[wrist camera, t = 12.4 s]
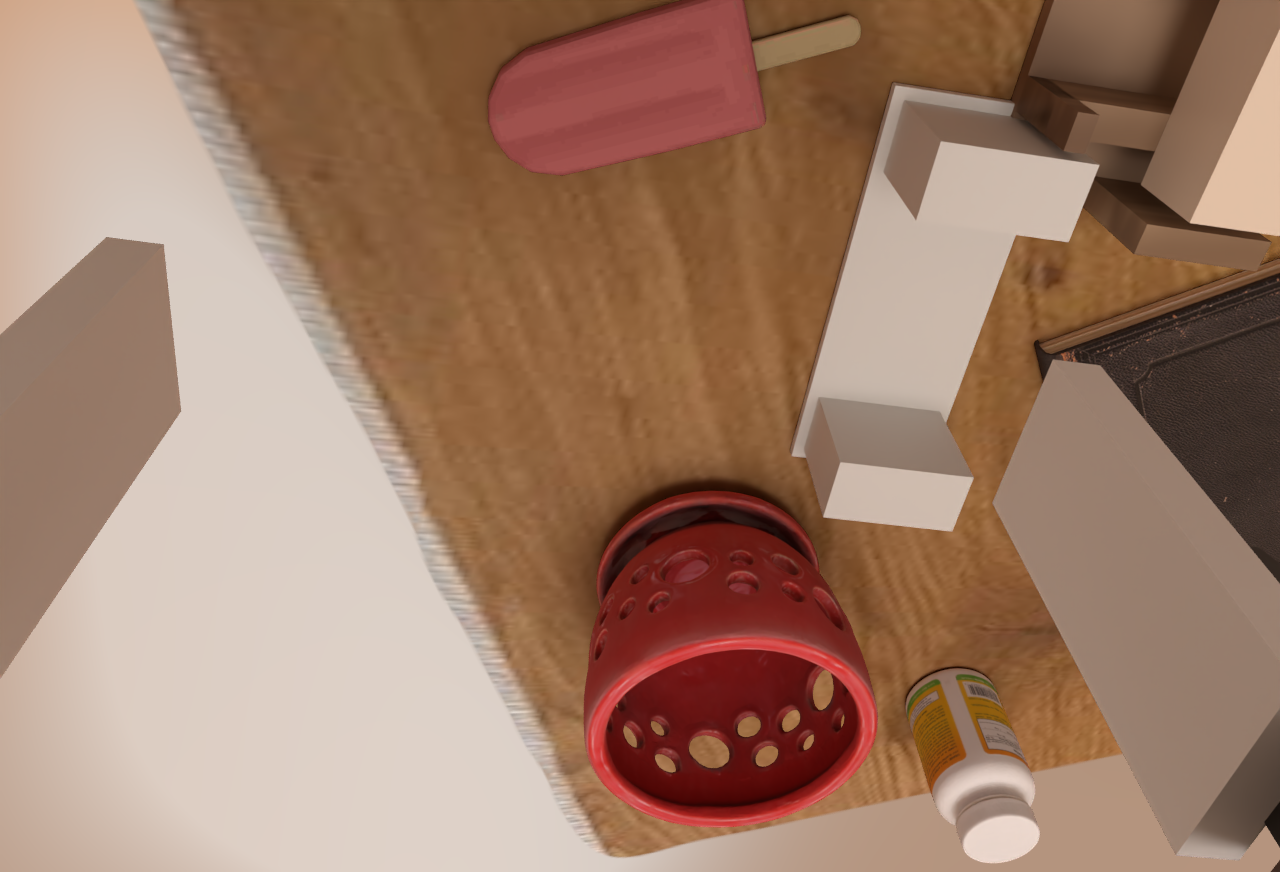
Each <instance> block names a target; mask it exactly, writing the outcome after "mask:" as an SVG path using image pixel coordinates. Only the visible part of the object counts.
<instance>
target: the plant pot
mask: <svg viewBox="0 0 1280 872" xmlns="http://www.w3.org/2000/svg"><path fill="white" fill-rule="evenodd" d="M596 587H597V596H598V600H599V604H600V607H601V608H600V610H599V613H598V616H597V619H596V622H595V625H594V628H593V632H592V636H591V642H590V650H589V666H588V673H587V679H586V686H585V694H584V737H585V746H586V751H587V755H588V758H589V761H590V763H591V766H592V768H593V770H594V772H595V773H596V775H597V776H598V778H599V779H600V780H601V782H602V783H603V784H604V785H605V786H606V787H607V788H608V789H609V790H610V791H611V792H612V793H613V794H614V795H615V796H617V797H618V798H619V799H621V800H622V801H624V802H625V803H627V804H628V805H630V806H631V807H633V808H635V809H637V810H639V811H641V812H643V813H645V814H648V815H650V816H653V817H655V818H658V819H661V820H664V821H668V822H672V823H677V824H683V825H689V826H699V827H736V826H745V825H751V824H757V823H762V822H767V821H771V820H775V819H778V818H781V817H784V816H787V815H790V814H792V813H795V812H797V811H799V810H802V809H804V808H806V807H808V806H810V805H812V804H814V803H816V802H818V801H820V800H822V799H823V798H825V797H827V796H828V795H830V794H831V793H833V792H834V791H835V790H837V789H838V788H839V787H840V786H842V785H843V784H844V783H845V782H846V781H847V780H848V779H849V778H850V777H851V776H852V775H853V774H854V773H855V772H856V771H857V770H858V769H859V767H860V766H861V764H862V763H863V762H864V760H865V759H866V757H867V755H868V753H869V752H870V750H871V748H872V746H873V744H874V740H875V736H876V733H877V725H878V712H877V705H876V701H875V697H874V693H873V689H872V685H871V681H870V678H869V674H868V670H867V667H866V664H865V662H864V659H863V656H862V653H861V650H860V648H859V645H858V643H857V641H856V638H855V636H854V633H853V630H852V628H851V625H850V623H849V621H848V619H847V617H846V615H845V613H844V612H843V610H842V609H841V607H840V605H839V603H838V601H837V599H836V597H835V596H834V594H833V592H832V590H831V589H830V587H829V585H828V584H827V583H826V581H825V580H824V579H823V578H822V576H821V575H820V574H819V564H818V559H817V555H816V552H815V549H814V547H813V544H812V542H811V540H810V539H809V537H808V535H807V534H806V532H805V531H804V529H803V528H802V527H801V526H800V525H799V524H798V523H797V522H796V521H795V520H794V519H793V518H792V517H791V516H790V515H788V514H787V513H786V512H784V511H783V510H781V509H780V508H778V507H776V506H775V505H773V504H771V503H769V502H766V501H764V500H762V499H760V498H757V497H754V496H749V495H745V494H741V493H735V492H728V491H699V492H691V493H686V494H681V495H677V496H673V497H670V498H667V499H665V500H662V501H660V502H658V503H656V504H654V505H652V506H650V507H648V508H647V509H645V510H643V511H642V512H640V513H639V514H638V515H636V516H635V517H634V518H632V519H631V520H630V521H629V522H627V523H626V524H625V525H624V526H623V527H622V528H621V529H620V530H619V531H618V533H617V534H616V535H615V536H614V537H613V539H612V540H611V541H610V543H609V545H608V546H607V548H606V550H605V552H604V553H603V556H602V558H601V561H600V564H599V568H598V572H597V584H596ZM823 670H827V671H829V672H830V673H831V675H832V678H833V685H834V691H833V696H832V699H831V702H830V703H829V705H828V706H827V707H826V708H825V709H823V710H818V709H817V707H816V706H815V704H814V700H813V688H814V684H815V682H816V679H817V678H818V676H819V674H820V673H821V672H822V671H823ZM617 703H618V708H617V707H616V705H617ZM792 710H798V711H799V713H800V722H799V724H798V725H797V726H796V727H795V728H794V729H793V730H791V731H789V732H784V730H783V728H782V721H783V718H784V717H785V716H786V714H787V713H789V712H790V711H792ZM843 714H844V717H845V719H844V724H843V726H842V728H841V719H842V716H843ZM750 716H754V717H756V718H758V719H759V720H760V722H761V728H760V730H759V731H758V733H757V734H756V735H754V736H750V737H742V736H740V735H739V734H738V731H737V728H738V724H739V722H740V721H741V720H742V719H744V718H746V717H750ZM651 721H655V722H657V723H659V724H660V725H661V726H662V728H663V730H664V735H663V736H660V735H658V734H656V733H655V732H654V731H653V730H652V727H651ZM624 725H625V726H627V727H628V728H629V729H630V730H631V731H632V732H633V734H634V736H635V737H636V740H637V747H636V748H635V747H632V746H631V745H630V744H629V743H628V742H627V740H626V739H625V736H624V733H623V728H624ZM812 734H814V742H813V744H812V746H811V747H810V748H809V749H807V750H804V748H803V746H804V742H805V740H806V739H807V738H808V737H809V736H810V735H812ZM702 735H708V736H712V737H716V738H718V739H720V740H721V741H722V742H724V743H725V745H726V746H727V747H728V749H729V753H730V754H729V761H728V762H727V763H726V764H725V765H724V766H723V767H719V768H707V767H705V766H703V765H701V764H699V763H698V762H697V761H696V760H695V759H694V758H693V757H692V756H691V754H690V752H689V745H690V742H691V740H692V739H693V738H695V737H697V736H702ZM766 746H774V747H776V748H777V749H778V756H777V759H776V760H775V761H774V762H773V763H772V764H770V765H769V766H766V767H761V766H758V765H757V764H756V760H755V758H756V755H757V753H758V752H759V750H761V749H762V748H764V747H766ZM656 754H663V755H665V756H667V757H669V758H670V759H671V760H672V761H673V762H674V764H675V767H676V772H673V773H670V772H666V771H664V770H662V769H661V768H659V766H658V765H657V763H656V760H655V755H656Z"/></svg>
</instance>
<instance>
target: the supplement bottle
mask: <svg viewBox="0 0 1280 872" xmlns="http://www.w3.org/2000/svg"><path fill="white" fill-rule="evenodd" d="M906 714H907V718H908V721H909V725H910V728H911V731H912V734H913V737H914V740H915V743H916V746H917V750H918V753H919V756H920V759H921V762H922V766H923V769H924V772H925V776H926V779H927V782H928V785H929V788H930V791H931V794H932V797H933V800H934V802H935V805H936V808H937V810H938V811H939V812H940V814H941V815H942V816H943V817H944V818H945V819H946V820H947V821H948V822H950V823H951V824H953V825H955V826H956V828H957V833H958V836H959V839H960V841H961V844H962V847H963V849H964V851H965V853H966V854H967V855H968V856H969V857H971V858H973V859H974V860H977V861H980V862H986V863H1001V862H1006V861H1010V860H1014V859H1016V858H1018V857H1021V856H1023V855H1024V854H1026V853H1028V852H1029V851H1030V850H1031V849H1032V848H1034V846H1035V845H1036V844H1037V842H1038V840H1039V836H1040V831H1039V827H1038V824H1037V821H1036V819H1035V816H1034V813H1033V811H1032V809H1031V807H1030V806H1031V804H1032V802H1033V800H1034V796H1035V783H1034V780H1033V777H1032V774H1031V771H1030V769H1029V767H1028V764H1027V762H1026V760H1025V757H1024V755H1023V753H1022V750H1021V748H1020V746H1019V743H1018V741H1017V738H1016V736H1015V734H1014V731H1013V729H1012V727H1011V724H1010V722H1009V719H1008V717H1007V715H1006V712H1005V710H1004V707H1003V705H1002V703H1001V700H1000V698H999V696H998V693H997V691H996V689H995V687H994V685H993V684H992V682H991V681H990V680H989V679H988V678H987V677H985V676H984V675H982V674H981V673H979V672H976V671H973V670H969V669H962V668H953V669H947V670H942V671H939V672H936V673H934V674H931V675H929V676H927V677H926V678H924V679H923V680H921V681H920V682H919V683H917V684H916V685H915V686H914V687H913V689H912V690H911V691H910V693H909V695H908V697H907V700H906Z"/></svg>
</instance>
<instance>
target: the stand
mask: <svg viewBox="0 0 1280 872" xmlns="http://www.w3.org/2000/svg"><path fill="white" fill-rule="evenodd" d="M1014 105H1015V104H1014V103H1013V102H1012V101H1010V100H1004V99H998V98H991V97H985V96H978V95H972V94H965V93H959V92H953V91H946V90H940V89H933V88H927V87H920V86H914V85H908V84H901V83H895V82H893V83H892V87H891V90H890V94H889V97H888V101H887V105H886V108H885V112H884V115H883V119H882V122H881V126H880V130H879V133H878V137H877V140H876V144H875V148H874V151H873V155H872V158H871V162H870V165H869V169H868V173H867V176H866V180H865V183H864V187H863V191H862V194H861V198H860V201H859V205H858V208H857V212H856V216H855V219H854V223H853V226H852V230H851V234H850V237H849V241H848V244H847V248H846V251H845V255H844V259H843V262H842V266H841V269H840V273H839V277H838V280H837V284H836V287H835V291H834V295H833V298H832V302H831V305H830V309H829V312H828V316H827V320H826V323H825V327H824V330H823V334H822V338H821V341H820V345H819V348H818V352H817V355H816V359H815V363H814V366H813V370H812V373H811V377H810V381H809V384H808V388H807V391H806V395H805V398H804V402H803V406H802V409H801V413H800V416H799V420H798V424H797V427H796V431H795V434H794V438H793V441H792V445H791V449H790V452H791V456H795V457H804V458H806V459H807V462H808V466H809V469H810V473H811V476H812V480H813V483H814V487H815V490H816V494H817V497H818V501H819V504H820V508H821V511H822V515H823V517H825V518H834V519H843V520H852V521H861V522H871V523H880V524H889V525H898V526H907V527H916V528H925V529H934V530H943V531H952V530H953V528H954V526H955V523H956V521H957V518H958V516H959V513H960V511H961V508H962V506H963V503H964V501H965V498H966V496H967V493H968V491H969V488H970V486H971V483H972V481H973V478H974V477H973V475H972V473H971V471H970V469H969V467H968V465H967V464H966V462H965V460H964V458H963V456H962V454H961V452H960V450H959V448H958V446H957V444H956V442H955V440H954V438H953V436H952V434H951V432H950V430H949V428H948V426H947V425H946V422H947V419H948V416H949V414H950V411H951V408H952V405H953V403H954V400H955V397H956V395H957V392H958V389H959V387H960V384H961V381H962V379H963V376H964V373H965V370H966V368H967V365H968V362H969V360H970V357H971V354H972V352H973V349H974V346H975V344H976V341H977V338H978V335H979V333H980V330H981V327H982V325H983V322H984V319H985V317H986V314H987V311H988V309H989V306H990V303H991V301H992V298H993V295H994V292H995V290H996V287H997V284H998V282H999V279H1000V276H1001V274H1002V271H1003V268H1004V266H1005V263H1006V260H1007V257H1008V255H1009V252H1010V249H1011V247H1012V244H1013V241H1014V239H1015V236H1016V235H1021V236H1028V237H1035V238H1042V239H1049V240H1056V241H1063V242H1069V240H1070V237H1071V235H1072V232H1073V230H1074V227H1075V225H1076V222H1077V220H1078V217H1079V215H1080V212H1081V210H1082V208H1083V205H1084V203H1085V200H1086V198H1087V195H1088V193H1089V190H1090V188H1091V185H1092V183H1093V180H1094V178H1095V175H1096V173H1097V170H1098V168H1099V164H1098V163H1096V162H1095V161H1094V160H1093V159H1091V158H1090V157H1089V156H1088V155H1086V154H1080V153H1073V152H1067V151H1063V150H1062V149H1061V148H1059V147H1058V146H1057V145H1056V144H1055V143H1053V142H1052V141H1051V140H1050V139H1049V138H1047V137H1046V136H1045V135H1044V134H1043V133H1041V132H1040V131H1039V130H1038V129H1037V128H1035V127H1034V126H1033V125H1032V124H1031V123H1029V122H1028V121H1027V120H1021V119H1014V118H1012V117H1011V114H1012V111H1013V108H1014Z"/></svg>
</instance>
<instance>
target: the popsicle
mask: <svg viewBox="0 0 1280 872" xmlns="http://www.w3.org/2000/svg"><path fill="white" fill-rule="evenodd" d="M860 35H861V27H860V24H859V22H858V20H857V19H856V18H854V17H852V16H850V15H846V16H843V17H839V18H835V19H832V20H828V21H824V22H821V23H817V24H813V25H810V26H806V27H802V28H799V29H795V30H791V31H787V32H784V33H780V34H776V35H773V36H769V37H765V38H762V39H758V40H754V41H752V40H751V35H750V30H749V25H748V19H747V14H746V9H745V4H744V0H681V1H678V2H674V3H671V4H667V5H664V6H660V7H657V8H653V9H650V10H646V11H643V12H639V13H636V14H633V15H629V16H626V17H623V18H620V19H617V20H614V21H610V22H607V23H604V24H601V25H598V26H595V27H591V28H588V29H585V30H582V31H579V32H576V33H572V34H569V35H566V36H563V37H560V38H557V39H554V40H550V41H547V42H544V43H541V44H538V45H535V46H531V47H528V48H526V49H525V50H523V51H522V52H521V53H520V54H518V55H517V56H516V57H515V58H513V59H512V60H511V61H510V62H508V63H507V64H506V65H504V66H503V67H502V68H501V70H500V72H499V75H498V77H497V79H496V81H495V84H494V86H493V88H492V90H491V93H490V95H489V101H488V122H489V125H490V128H491V131H492V134H493V137H494V140H495V141H496V142H497V144H498V145H499V146H500V148H501V149H502V150H503V151H504V153H505V154H506V155H507V157H508V158H509V159H511V160H513V161H514V162H516V163H517V164H519V165H521V166H522V167H524V168H526V169H527V170H529V171H531V172H536V173H545V174H554V175H567V174H571V173H575V172H580V171H584V170H589V169H593V168H597V167H602V166H606V165H611V164H615V163H619V162H624V161H628V160H633V159H637V158H641V157H646V156H650V155H655V154H659V153H663V152H668V151H672V150H676V149H680V148H684V147H687V146H691V145H695V144H699V143H703V142H707V141H711V140H715V139H719V138H723V137H727V136H731V135H735V134H739V133H743V132H747V131H750V130H754V129H758V128H761V127H762V126H764V125H765V122H766V114H765V109H764V104H763V99H762V93H761V88H760V83H759V77H758V72H757V71H761V70H764V69H768V68H772V67H776V66H779V65H783V64H787V63H791V62H794V61H798V60H802V59H806V58H809V57H813V56H817V55H820V54H824V53H828V52H832V51H835V50H839V49H843V48H847V47H850V46H854V45H855V44H856V42H857V41H858V40H859V39H860Z"/></svg>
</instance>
